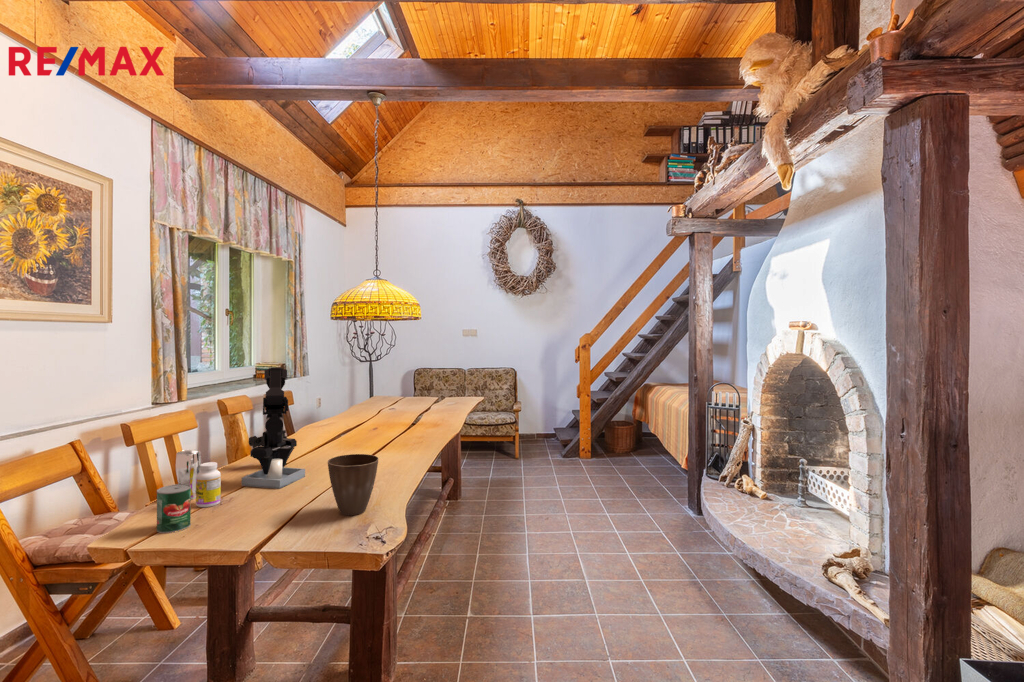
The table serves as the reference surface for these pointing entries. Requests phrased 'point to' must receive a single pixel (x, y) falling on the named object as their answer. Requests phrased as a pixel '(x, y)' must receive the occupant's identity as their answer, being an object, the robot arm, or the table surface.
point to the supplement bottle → (208, 485)
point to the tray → (261, 479)
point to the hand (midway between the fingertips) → (274, 470)
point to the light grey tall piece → (188, 468)
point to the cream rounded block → (275, 469)
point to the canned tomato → (173, 508)
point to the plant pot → (352, 481)
